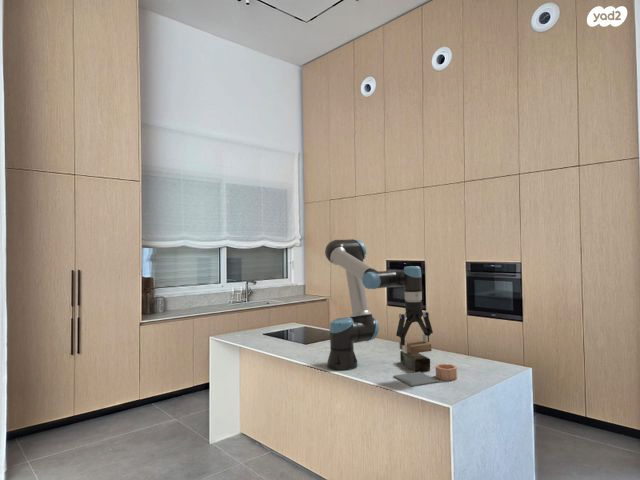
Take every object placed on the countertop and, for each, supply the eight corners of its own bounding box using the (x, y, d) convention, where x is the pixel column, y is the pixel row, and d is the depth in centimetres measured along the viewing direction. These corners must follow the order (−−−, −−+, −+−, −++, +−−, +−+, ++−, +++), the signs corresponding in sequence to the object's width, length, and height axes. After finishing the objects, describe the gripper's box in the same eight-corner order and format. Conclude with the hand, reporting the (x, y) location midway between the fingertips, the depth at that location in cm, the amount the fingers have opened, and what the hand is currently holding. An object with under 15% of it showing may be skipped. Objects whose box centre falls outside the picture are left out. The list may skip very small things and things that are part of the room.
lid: (399, 348, 192) (399, 342, 192) (418, 346, 195) (418, 339, 195) (411, 353, 182) (411, 346, 182) (431, 351, 186) (431, 344, 186)
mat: (393, 376, 193) (393, 375, 193) (420, 373, 198) (420, 371, 198) (411, 386, 179) (411, 385, 179) (439, 382, 184) (439, 380, 184)
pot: (432, 375, 193) (432, 365, 193) (448, 373, 196) (448, 363, 196) (444, 381, 185) (444, 370, 185) (461, 378, 188) (460, 367, 188)
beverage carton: (414, 361, 219) (414, 348, 220) (431, 371, 201) (430, 357, 201) (400, 362, 218) (399, 349, 218) (415, 373, 199) (415, 359, 199)
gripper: (395, 303, 182) (397, 355, 181) (440, 300, 190) (441, 350, 189) (386, 301, 189) (388, 352, 188) (430, 298, 197) (431, 346, 196)
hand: (415, 351), depth 189 cm, fingers closed on lid, 10 cm apart
